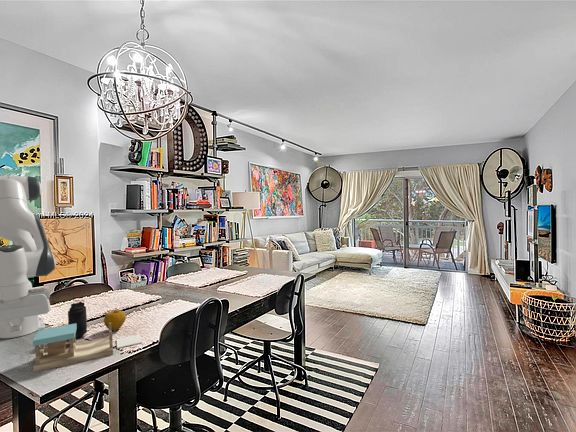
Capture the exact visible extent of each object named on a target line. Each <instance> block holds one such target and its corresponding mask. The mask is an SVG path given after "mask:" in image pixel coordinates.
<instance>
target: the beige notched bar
mask: <svg viewBox="0 0 576 432" xmlns="http://www.w3.org/2000/svg"><path fill="white" fill-rule="evenodd" d="M113 342H114V341H113V331H112V325H111V323H109V329H108V336H107V337H102V338H101V337H100V338H97V339H93V340H87V341H82V342H78V343H77V338H76V334H75V338H73V339H69V342H66V353H63V354H58V355H53V356H49V357H48V350H47V346H46V347H45V344H42V345H37V346H34V347H35V348H34V350H35V351H34V352H35V363H34V365H33V373H39V372H41V371H46V370H51V369H55V368H59V367H65V366H68V365H72V364H77V363H81V362H86V361H91V360H95V359H98V358H99V359H100V358H102V357H108V356H111V355H114V345H113Z"/></svg>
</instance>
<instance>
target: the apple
mask: <svg viewBox="0 0 576 432" xmlns="http://www.w3.org/2000/svg"><path fill="white" fill-rule="evenodd" d="M126 317H127V316H126V313H125V312H124V311H123V310H120V309H115V310H112V311H109V312H107V313H106V314H105V315H104V318H103V322H104V326H105V327H106V329H108V330H109V323H111V325H112V330H115V331H118V330H120V329H121V327H122V326H123V325H124V323H125V321H126V319H127V318H126ZM119 328H120V329H119ZM117 329H118V330H117Z"/></svg>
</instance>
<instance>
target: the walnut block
mask: <svg viewBox="0 0 576 432" xmlns="http://www.w3.org/2000/svg"><path fill="white" fill-rule="evenodd" d="M66 343H67V340H63V341H58V342H53V343H48V344H46V347H47V350H48V357H49V356H53V355H58V354H63V353H66Z"/></svg>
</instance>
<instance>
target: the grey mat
mask: <svg viewBox="0 0 576 432" xmlns="http://www.w3.org/2000/svg"><path fill="white" fill-rule="evenodd" d="M116 341H117V342H116V349H117V350H118V349H122V347H123V348H127V347H131V346H130V345H132V346H136V345H140V344H143V341H142V337H141V334H136V335H130V336H126V337H122V338H116ZM126 346H127V347H126Z"/></svg>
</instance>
